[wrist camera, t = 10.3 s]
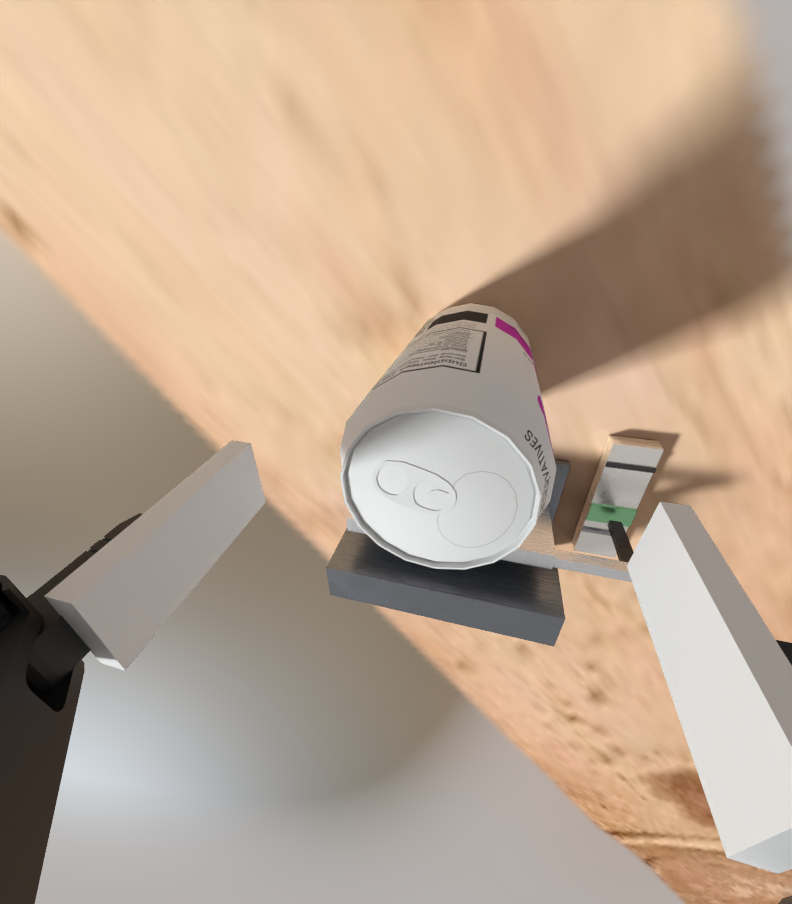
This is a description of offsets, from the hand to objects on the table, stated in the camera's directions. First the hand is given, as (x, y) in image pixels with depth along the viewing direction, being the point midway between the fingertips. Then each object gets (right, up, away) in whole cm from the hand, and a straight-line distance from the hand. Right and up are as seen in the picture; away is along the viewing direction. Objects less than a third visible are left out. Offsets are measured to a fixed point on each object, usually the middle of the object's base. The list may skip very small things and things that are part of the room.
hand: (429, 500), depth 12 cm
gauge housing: (+6, -1, +18) cm, 19 cm away
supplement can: (+4, +8, +13) cm, 16 cm away
